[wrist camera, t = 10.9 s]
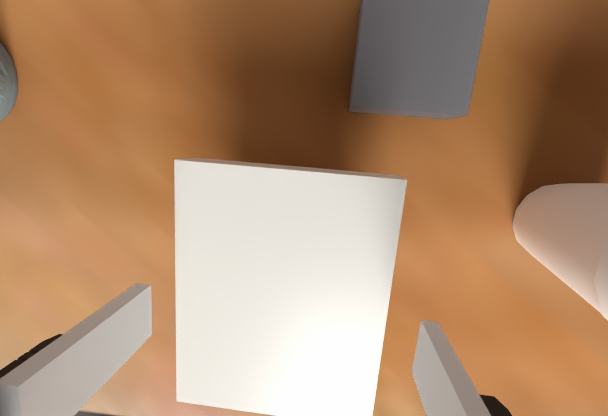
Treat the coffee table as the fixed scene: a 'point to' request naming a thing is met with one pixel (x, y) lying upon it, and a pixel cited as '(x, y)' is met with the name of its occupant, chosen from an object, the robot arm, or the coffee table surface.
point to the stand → (417, 57)
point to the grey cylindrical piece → (7, 83)
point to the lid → (282, 285)
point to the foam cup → (569, 236)
